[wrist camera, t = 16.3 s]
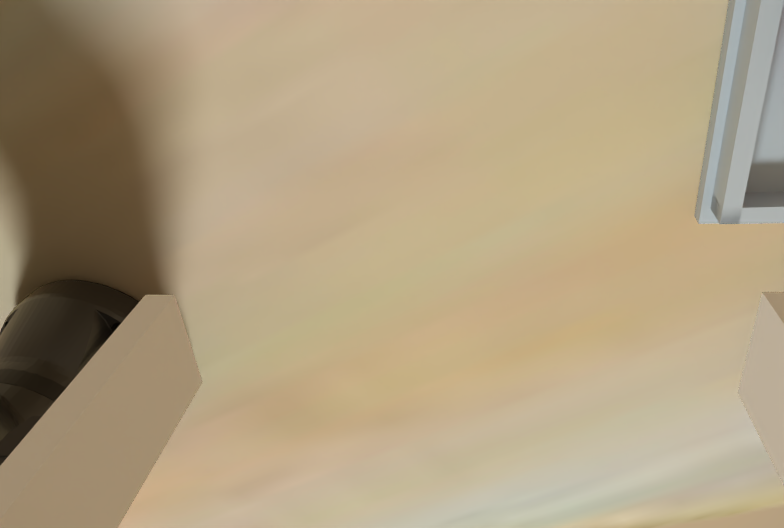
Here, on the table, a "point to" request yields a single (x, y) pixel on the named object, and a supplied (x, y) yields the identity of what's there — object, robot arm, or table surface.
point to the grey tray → (746, 120)
